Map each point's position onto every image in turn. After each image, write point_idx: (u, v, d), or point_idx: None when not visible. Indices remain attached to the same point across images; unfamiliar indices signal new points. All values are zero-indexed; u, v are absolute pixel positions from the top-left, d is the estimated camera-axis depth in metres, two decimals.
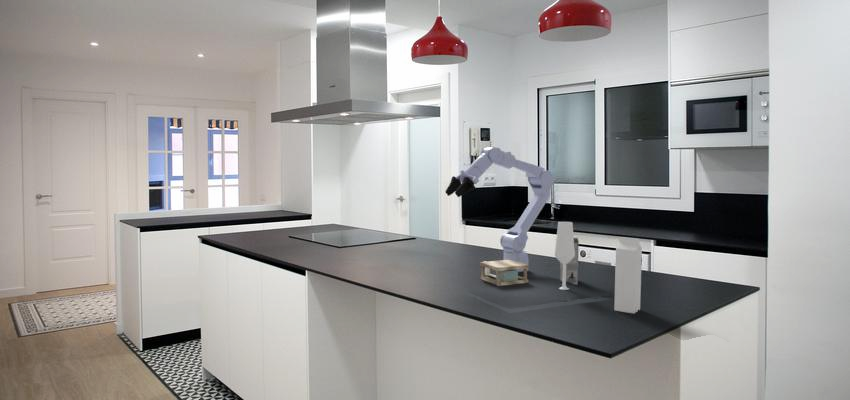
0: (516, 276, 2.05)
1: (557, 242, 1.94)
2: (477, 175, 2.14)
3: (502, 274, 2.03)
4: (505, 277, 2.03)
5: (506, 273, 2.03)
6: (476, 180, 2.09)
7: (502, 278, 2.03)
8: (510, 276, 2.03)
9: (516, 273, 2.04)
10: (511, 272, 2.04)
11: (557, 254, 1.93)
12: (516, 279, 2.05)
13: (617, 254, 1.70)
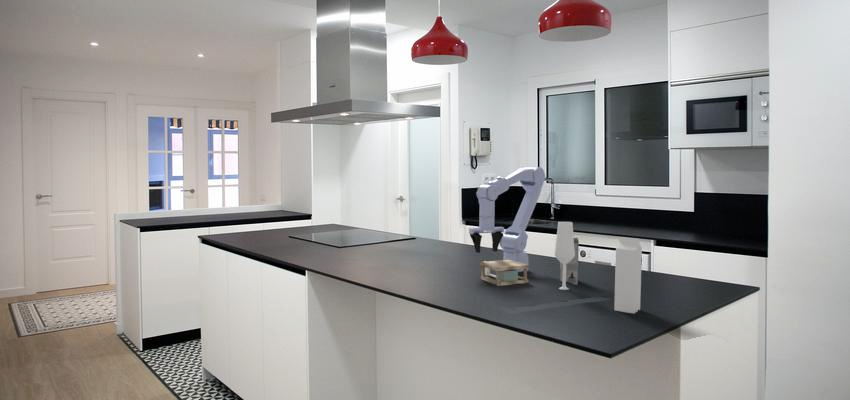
0: (516, 276, 2.05)
1: (557, 242, 1.94)
2: None
3: (502, 274, 2.03)
4: (505, 277, 2.03)
5: (506, 273, 2.03)
6: None
7: (502, 278, 2.03)
8: (510, 276, 2.03)
9: (516, 273, 2.04)
10: (511, 272, 2.04)
11: (557, 254, 1.93)
12: (516, 279, 2.05)
13: (617, 254, 1.70)
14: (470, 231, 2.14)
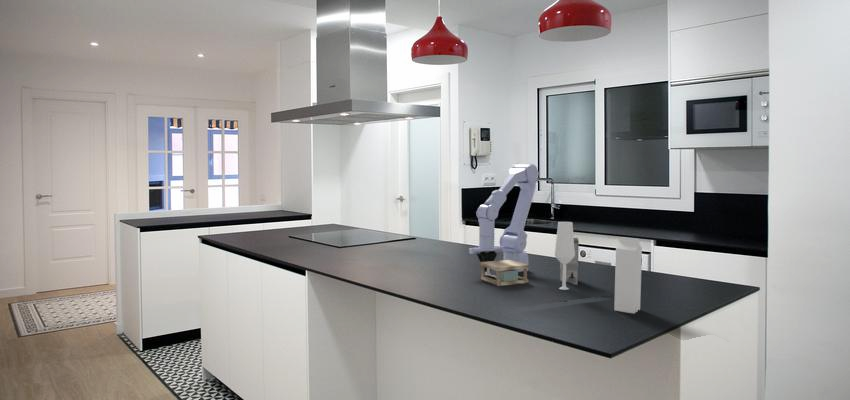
0: (516, 276, 2.05)
1: (557, 242, 1.94)
2: None
3: (502, 274, 2.03)
4: (505, 277, 2.03)
5: (506, 273, 2.03)
6: None
7: (502, 278, 2.03)
8: (510, 276, 2.03)
9: (516, 273, 2.04)
10: (511, 272, 2.04)
11: (557, 254, 1.93)
12: (516, 279, 2.05)
13: (617, 254, 1.70)
14: (470, 251, 2.15)
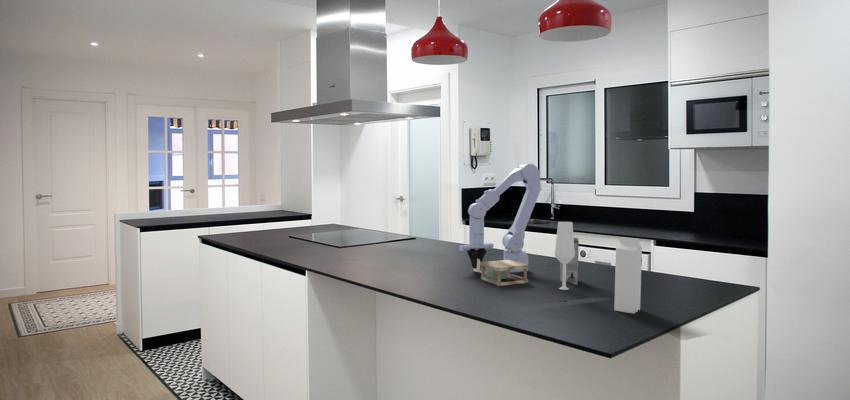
0: (505, 272, 2.11)
1: (557, 242, 1.94)
2: None
3: (491, 270, 2.10)
4: (494, 273, 2.09)
5: None
6: None
7: (491, 274, 2.10)
8: None
9: None
10: None
11: (557, 254, 1.93)
12: (505, 275, 2.11)
13: (617, 254, 1.70)
14: (460, 248, 2.21)
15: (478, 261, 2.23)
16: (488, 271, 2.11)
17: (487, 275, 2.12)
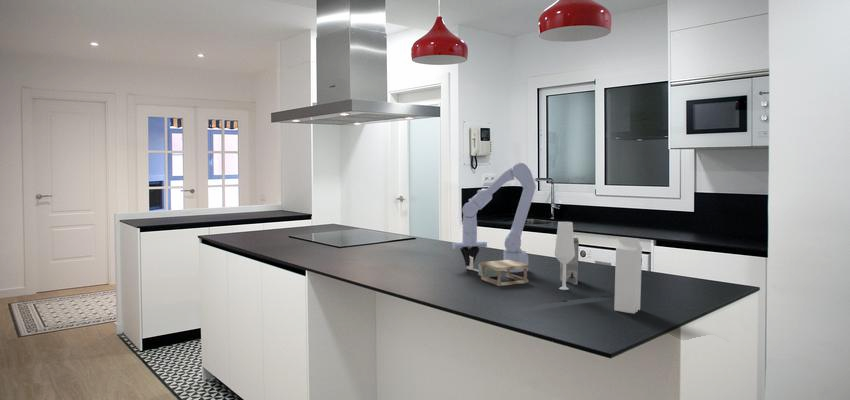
0: None
1: (557, 242, 1.94)
2: None
3: None
4: (486, 271, 2.14)
5: None
6: None
7: None
8: (491, 270, 2.15)
9: None
10: None
11: (557, 254, 1.93)
12: (497, 273, 2.16)
13: (617, 254, 1.70)
14: (453, 246, 2.27)
15: (471, 259, 2.28)
16: (481, 268, 2.16)
17: (480, 272, 2.17)
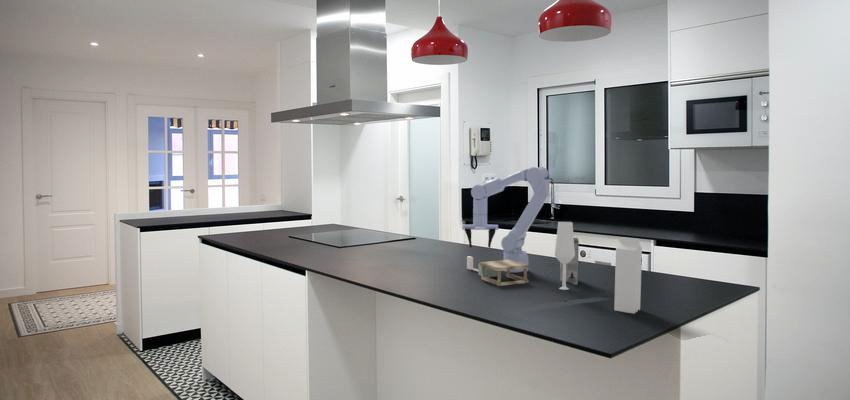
0: None
1: (557, 242, 1.94)
2: None
3: None
4: (486, 271, 2.14)
5: None
6: (497, 227, 2.33)
7: None
8: (491, 270, 2.15)
9: None
10: None
11: (557, 254, 1.93)
12: (497, 273, 2.16)
13: (617, 254, 1.70)
14: (462, 227, 2.33)
15: (471, 259, 2.28)
16: (481, 268, 2.16)
17: (480, 272, 2.17)
